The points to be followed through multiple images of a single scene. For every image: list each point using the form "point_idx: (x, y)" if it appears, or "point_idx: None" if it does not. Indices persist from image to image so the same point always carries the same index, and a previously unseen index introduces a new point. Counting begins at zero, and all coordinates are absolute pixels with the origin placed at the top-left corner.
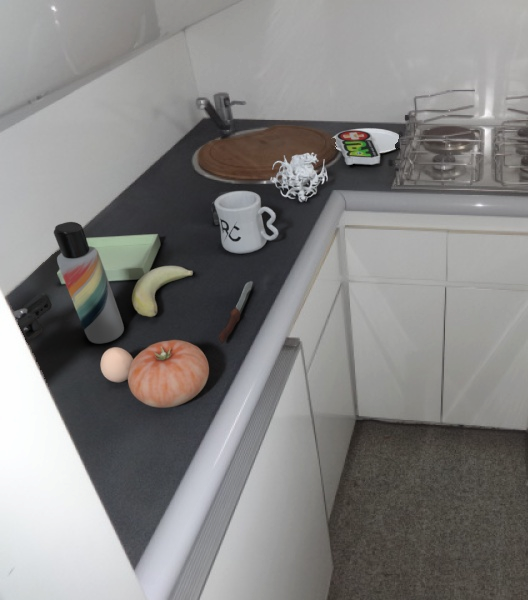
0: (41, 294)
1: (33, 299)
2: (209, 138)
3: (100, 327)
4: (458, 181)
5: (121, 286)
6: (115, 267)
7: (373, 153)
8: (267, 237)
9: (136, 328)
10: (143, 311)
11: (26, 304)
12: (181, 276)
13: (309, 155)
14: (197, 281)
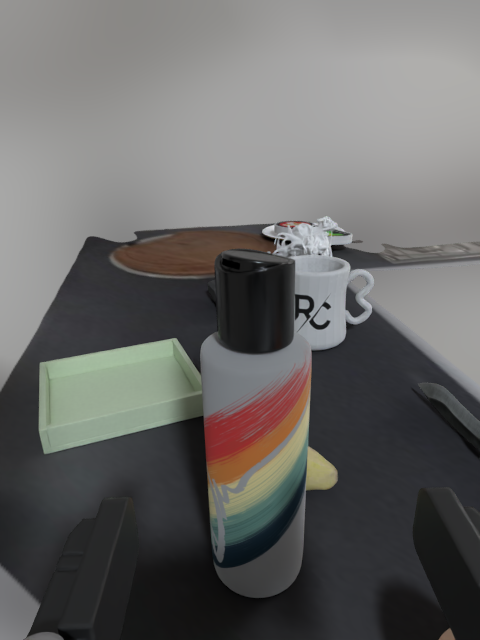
0: (435, 493)
1: (453, 531)
2: (113, 246)
3: (289, 550)
4: (450, 251)
5: (178, 436)
6: (137, 402)
7: (342, 233)
8: (353, 319)
9: (312, 526)
10: (313, 479)
11: (475, 576)
12: None
13: (328, 219)
14: (311, 401)
